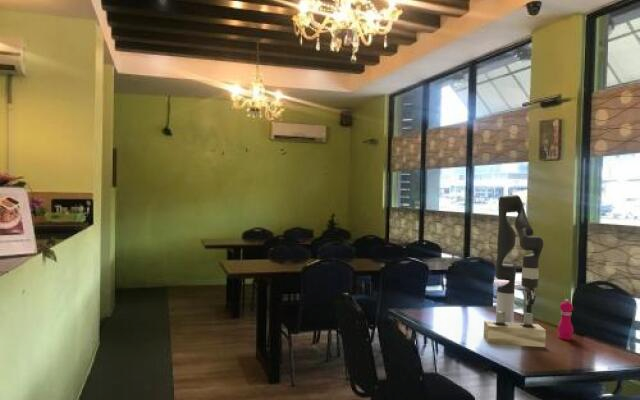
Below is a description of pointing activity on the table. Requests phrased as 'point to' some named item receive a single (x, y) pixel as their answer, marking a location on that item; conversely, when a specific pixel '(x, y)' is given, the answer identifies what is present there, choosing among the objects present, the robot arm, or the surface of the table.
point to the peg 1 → (500, 318)
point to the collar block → (514, 334)
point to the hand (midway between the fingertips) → (528, 312)
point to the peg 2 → (528, 320)
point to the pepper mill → (565, 321)
